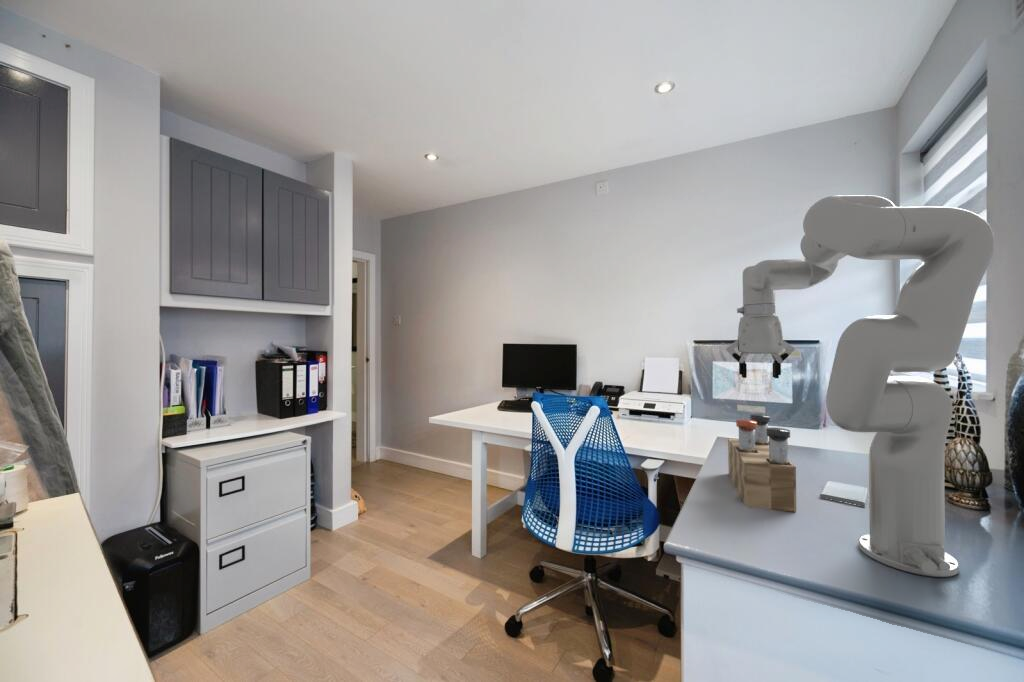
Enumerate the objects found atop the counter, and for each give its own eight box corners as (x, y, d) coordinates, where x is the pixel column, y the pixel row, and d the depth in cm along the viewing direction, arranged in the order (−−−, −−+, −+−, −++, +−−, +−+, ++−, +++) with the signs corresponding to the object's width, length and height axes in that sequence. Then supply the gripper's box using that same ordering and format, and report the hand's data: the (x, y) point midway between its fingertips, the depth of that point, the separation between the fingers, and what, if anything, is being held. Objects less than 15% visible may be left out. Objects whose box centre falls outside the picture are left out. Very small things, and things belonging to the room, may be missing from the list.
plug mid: (759, 471, 102) (758, 423, 102) (738, 469, 103) (738, 422, 103) (755, 465, 106) (754, 419, 106) (735, 464, 108) (734, 418, 108)
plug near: (793, 485, 92) (792, 432, 92) (769, 483, 93) (769, 431, 93) (787, 479, 96) (786, 428, 96) (764, 477, 98) (764, 427, 98)
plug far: (772, 462, 109) (772, 417, 109) (752, 461, 110) (752, 416, 110) (768, 457, 113) (767, 414, 113) (749, 456, 115) (748, 413, 115)
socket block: (796, 512, 91) (795, 466, 91) (745, 506, 94) (744, 462, 94) (769, 477, 114) (768, 440, 114) (728, 473, 117) (728, 438, 117)
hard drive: (865, 502, 93) (868, 487, 102) (820, 493, 99) (826, 479, 108) (865, 509, 93) (868, 493, 102) (820, 500, 99) (826, 486, 108)
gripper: (725, 312, 111) (725, 378, 111) (801, 309, 105) (802, 379, 105) (721, 313, 118) (721, 375, 118) (792, 311, 112) (793, 376, 112)
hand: (759, 377), depth 112 cm, fingers open, 6 cm apart
